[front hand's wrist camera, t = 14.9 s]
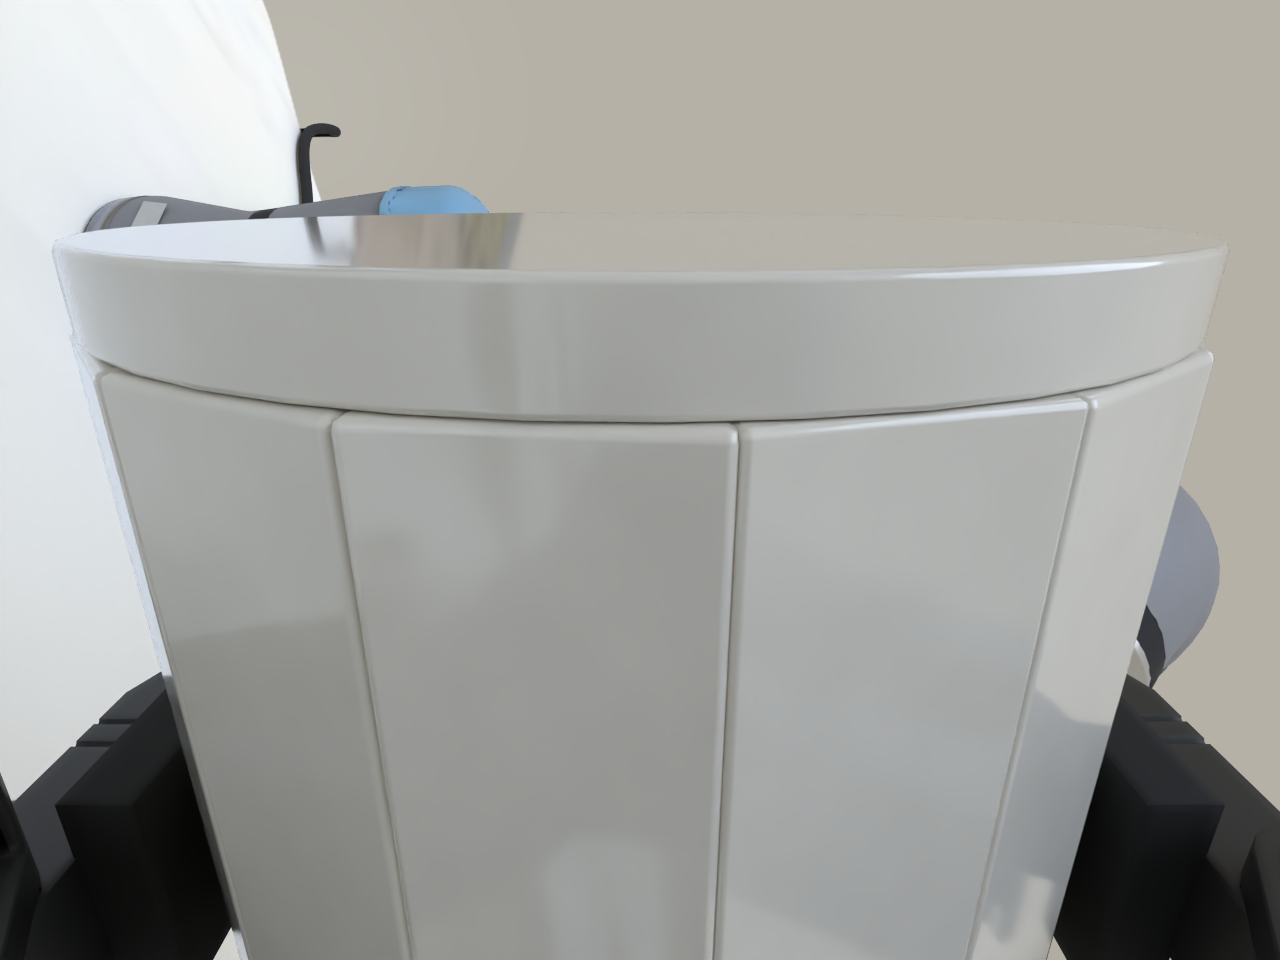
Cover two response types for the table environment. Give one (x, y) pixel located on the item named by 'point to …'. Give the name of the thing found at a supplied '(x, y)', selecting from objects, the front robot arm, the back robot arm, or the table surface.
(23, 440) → the table surface
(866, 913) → the grey paneled bucket
